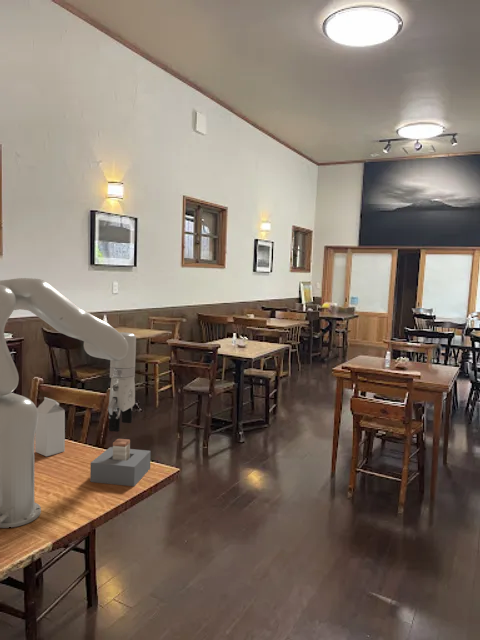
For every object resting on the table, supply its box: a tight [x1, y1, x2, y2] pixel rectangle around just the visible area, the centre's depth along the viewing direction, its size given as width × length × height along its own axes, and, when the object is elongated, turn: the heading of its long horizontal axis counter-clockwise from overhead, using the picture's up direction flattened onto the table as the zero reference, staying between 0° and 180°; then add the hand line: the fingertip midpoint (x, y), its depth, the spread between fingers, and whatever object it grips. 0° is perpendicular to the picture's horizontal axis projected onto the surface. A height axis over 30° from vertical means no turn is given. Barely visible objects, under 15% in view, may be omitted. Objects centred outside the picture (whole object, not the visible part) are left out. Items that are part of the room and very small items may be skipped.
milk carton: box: [34, 396, 66, 457], centre depth 169 cm, size 7×7×19 cm
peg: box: [112, 438, 131, 461], centre depth 152 cm, size 4×4×11 cm
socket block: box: [89, 446, 151, 487], centre depth 152 cm, size 14×14×6 cm
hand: (120, 426), depth 151 cm, fingers open, 9 cm apart
